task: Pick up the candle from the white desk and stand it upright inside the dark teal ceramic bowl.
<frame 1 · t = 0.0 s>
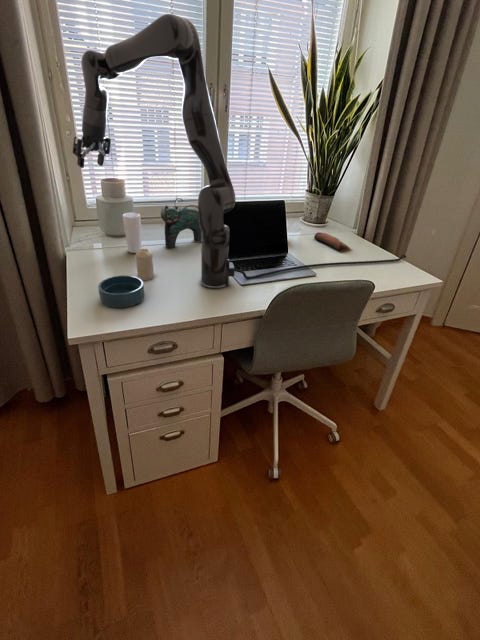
hand: (90, 165, 129), 31 cm above the table, tool tilted 20°, fingers open, 8 cm apart
drinking glass: (135, 251, 144), on the table
candle: (146, 277, 124), on the table
brown tapered cylinder: (331, 245, 165), on the table
ceramic cat: (183, 244, 155), on the table
bowl: (123, 298, 110), on the table
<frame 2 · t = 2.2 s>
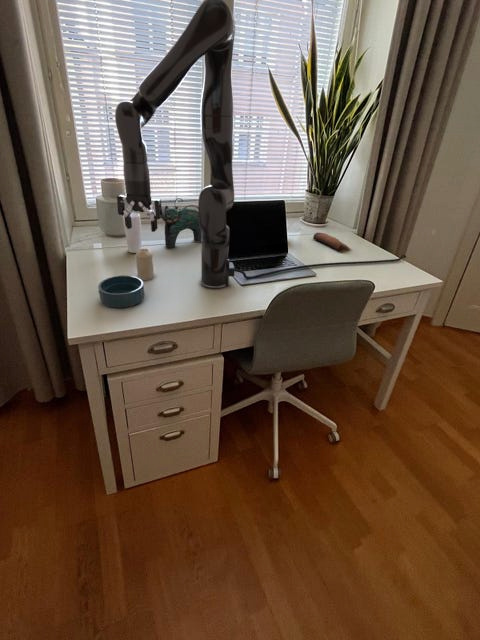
hand: (141, 229, 115), 17 cm above the table, tool pointing down, fingers open, 8 cm apart
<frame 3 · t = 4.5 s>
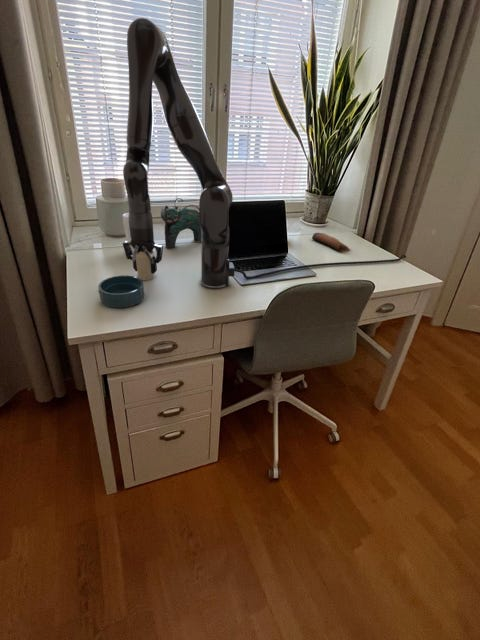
hand: (145, 271, 123), 2 cm above the table, tool pointing down, fingers closed on candle, 5 cm apart
candle: (146, 277, 124), on the table, touching gripper
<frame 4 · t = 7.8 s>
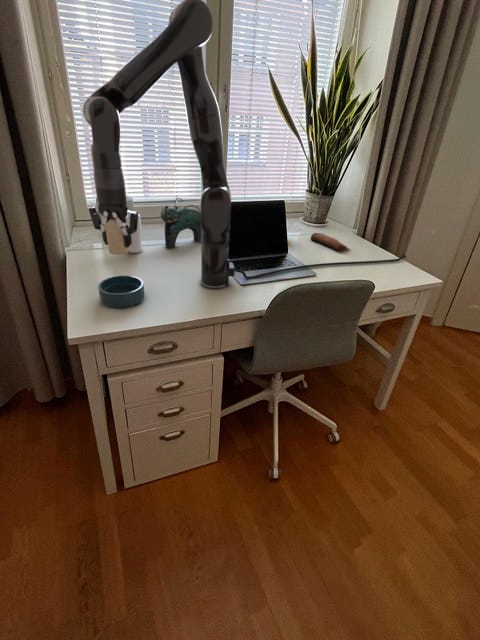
hand: (117, 245, 102), 17 cm above the table, tool pointing down, fingers closed on candle, 5 cm apart
candle: (118, 252, 103), point 15 cm above the table, touching gripper
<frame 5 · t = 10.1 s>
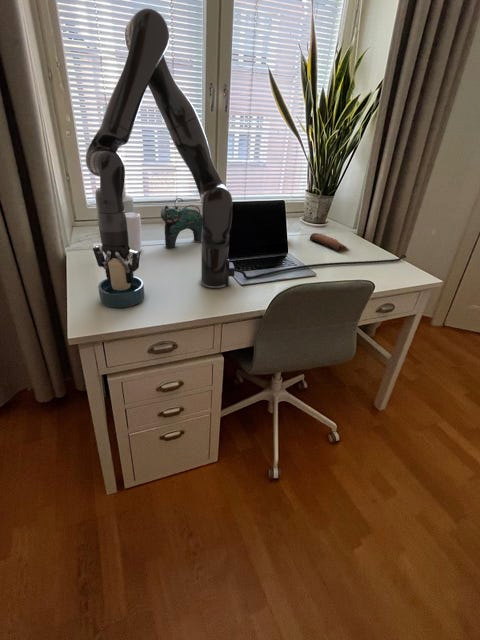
hand: (120, 280, 107), 6 cm above the table, tool pointing down, fingers closed on candle, 5 cm apart
candle: (121, 287, 108), point 4 cm above the table, touching gripper
when the fingers open (3 cm above the table, at t = 11.6 s): candle stays where it is, resting on bowl.
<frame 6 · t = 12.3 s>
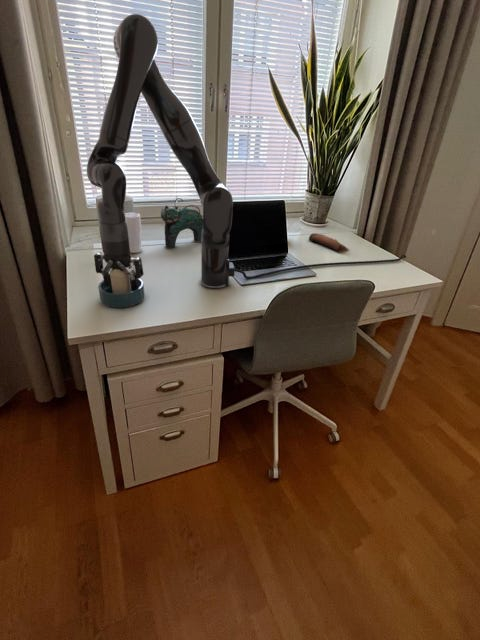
hand: (121, 287, 107), 4 cm above the table, tool pointing down, fingers open, 8 cm apart
candle: (122, 297, 110), resting on bowl
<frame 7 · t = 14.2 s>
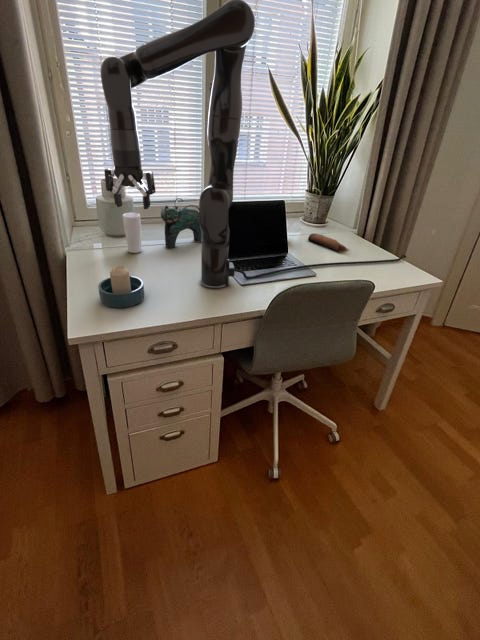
hand: (132, 207, 104), 26 cm above the table, tool pointing down, fingers open, 8 cm apart
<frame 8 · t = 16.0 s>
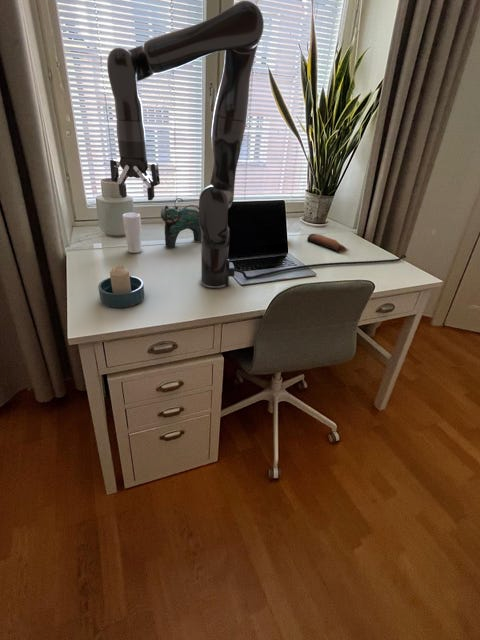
hand: (137, 198, 106), 28 cm above the table, tool pointing down, fingers open, 8 cm apart
at the end: candle inside the target area in the bowl (0.1 cm from its centre), point 0.4 cm above the bowl's base; candle tilted 0°; the gripper is holding nothing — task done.
